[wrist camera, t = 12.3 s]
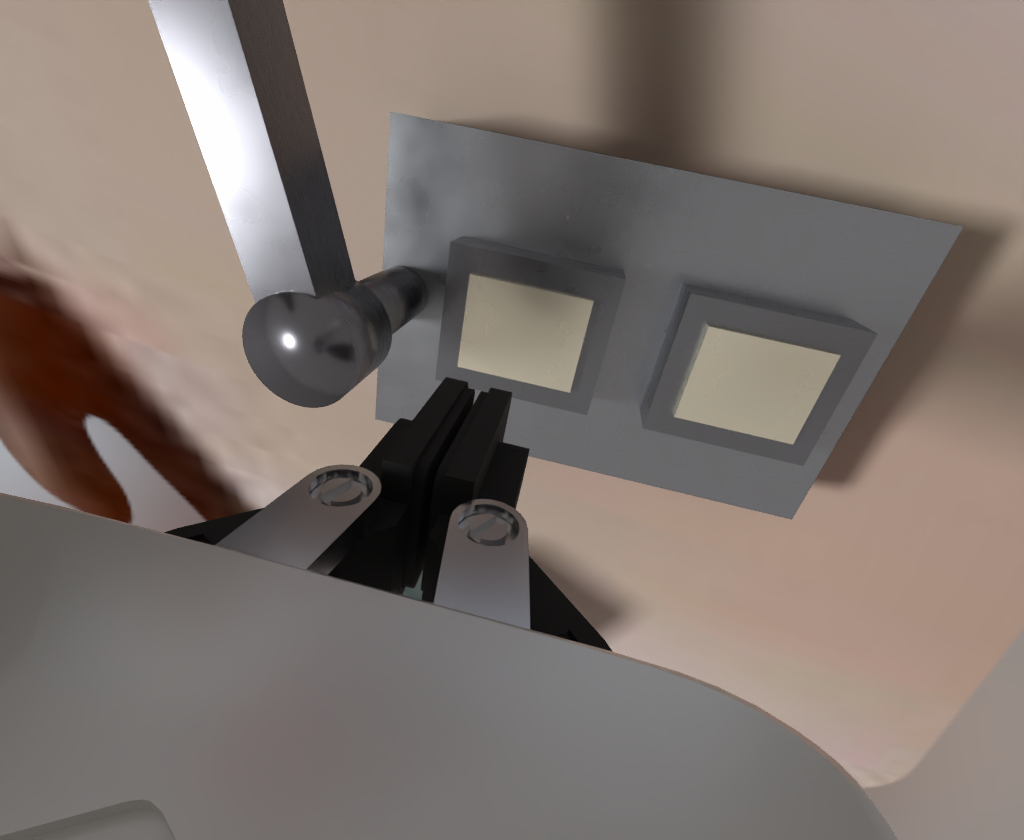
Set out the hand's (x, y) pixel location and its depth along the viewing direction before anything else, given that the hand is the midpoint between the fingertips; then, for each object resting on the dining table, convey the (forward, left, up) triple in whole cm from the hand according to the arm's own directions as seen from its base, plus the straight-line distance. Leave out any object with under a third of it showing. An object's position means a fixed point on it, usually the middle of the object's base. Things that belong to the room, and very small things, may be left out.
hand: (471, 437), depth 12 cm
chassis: (-4, 0, -15) cm, 16 cm away
